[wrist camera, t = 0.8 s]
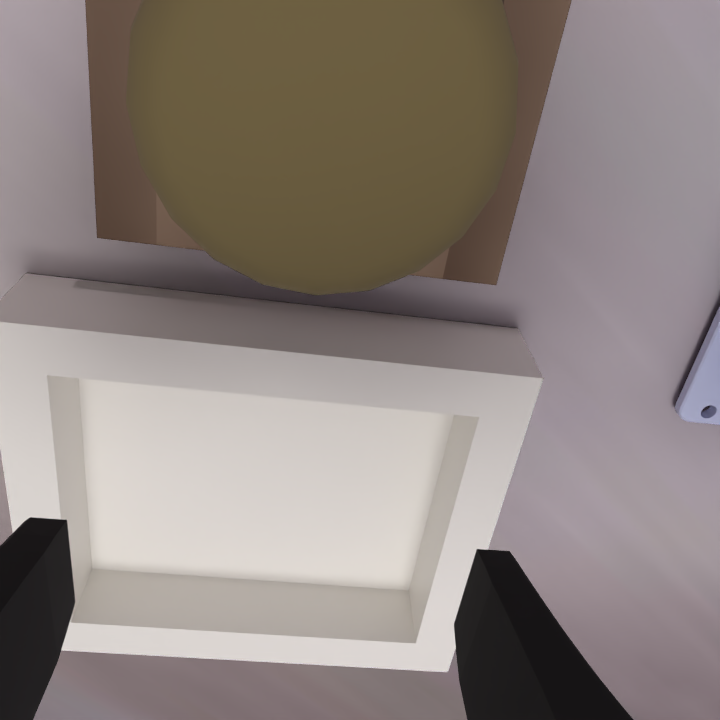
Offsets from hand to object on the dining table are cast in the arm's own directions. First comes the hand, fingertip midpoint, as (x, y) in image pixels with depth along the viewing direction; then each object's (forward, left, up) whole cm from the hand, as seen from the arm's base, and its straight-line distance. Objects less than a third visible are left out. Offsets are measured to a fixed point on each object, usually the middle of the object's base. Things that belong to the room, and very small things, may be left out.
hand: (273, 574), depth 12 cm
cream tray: (+1, +6, -10) cm, 12 cm away
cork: (0, -8, -11) cm, 13 cm away
